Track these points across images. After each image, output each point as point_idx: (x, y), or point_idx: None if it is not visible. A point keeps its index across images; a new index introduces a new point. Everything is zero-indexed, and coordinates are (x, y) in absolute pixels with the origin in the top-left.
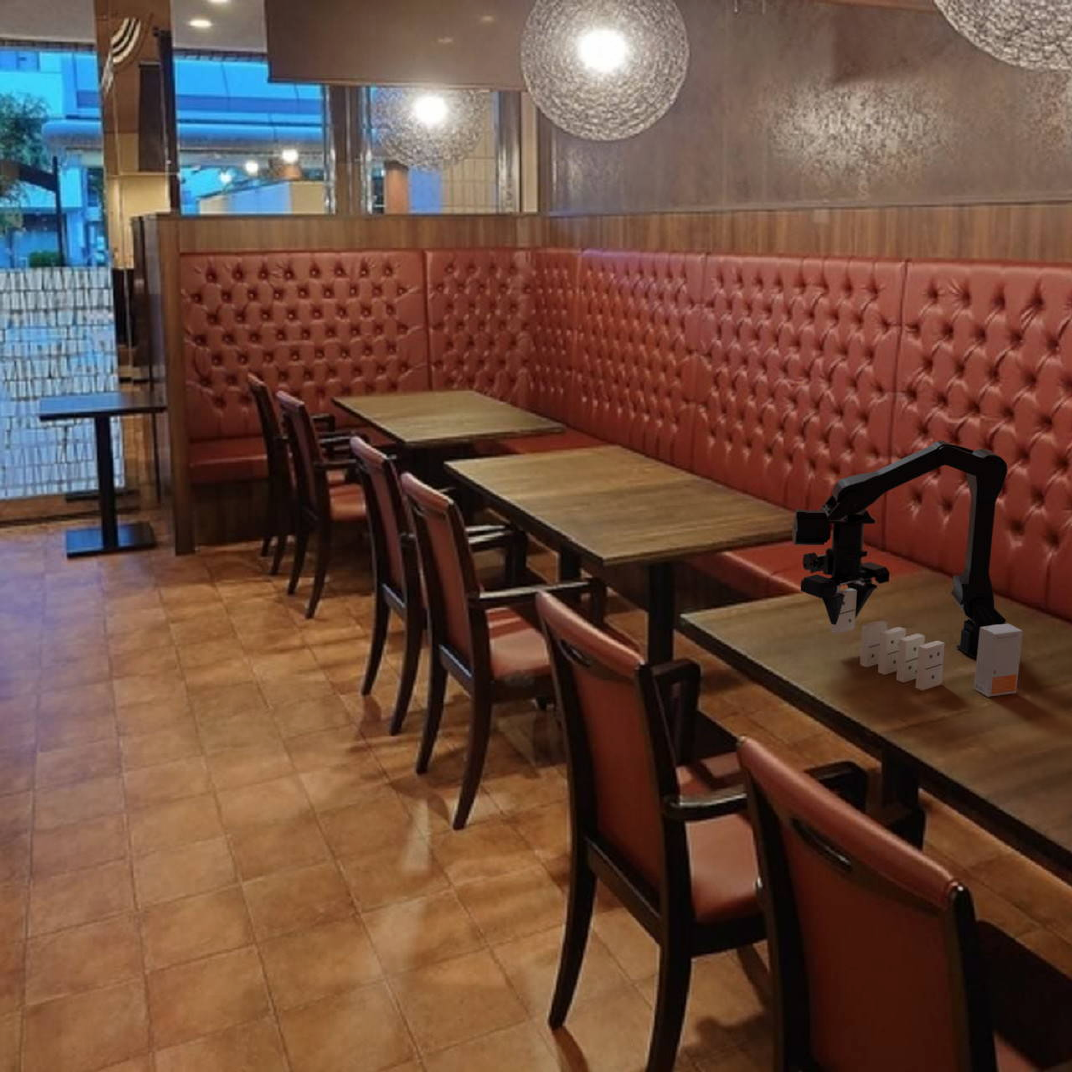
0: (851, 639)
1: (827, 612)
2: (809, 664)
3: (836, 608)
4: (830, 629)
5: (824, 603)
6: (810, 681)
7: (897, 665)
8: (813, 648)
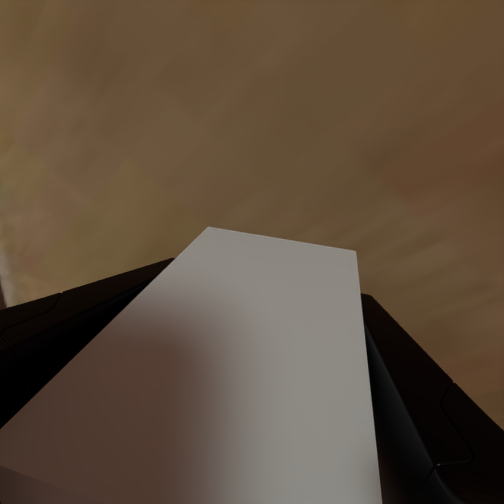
0: (465, 162)
1: (102, 282)
2: (103, 217)
3: None
4: (203, 231)
5: (6, 312)
6: (42, 289)
7: None
8: (220, 118)
